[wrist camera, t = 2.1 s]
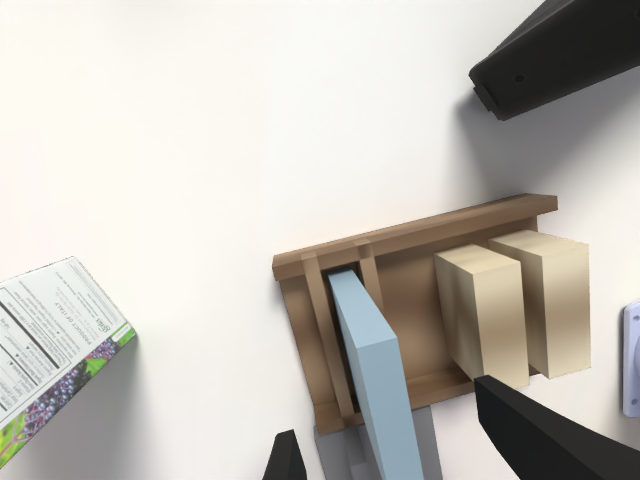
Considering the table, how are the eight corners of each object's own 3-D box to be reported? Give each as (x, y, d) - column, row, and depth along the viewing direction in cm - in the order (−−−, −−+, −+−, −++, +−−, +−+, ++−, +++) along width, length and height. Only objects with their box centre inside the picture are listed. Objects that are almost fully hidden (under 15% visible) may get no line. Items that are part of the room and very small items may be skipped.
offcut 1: (482, 343, 20) (529, 385, 16) (447, 353, 20) (486, 396, 16) (470, 243, 18) (520, 261, 14) (433, 252, 18) (472, 274, 14)
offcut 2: (531, 330, 20) (590, 367, 16) (497, 339, 20) (549, 379, 16) (525, 229, 18) (588, 244, 14) (487, 238, 18) (541, 256, 14)
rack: (535, 346, 21) (564, 366, 19) (315, 406, 20) (319, 435, 18) (525, 193, 19) (557, 195, 16) (273, 255, 18) (271, 267, 16)
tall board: (374, 379, 20) (430, 515, 12) (353, 385, 19) (396, 525, 12) (349, 265, 18) (396, 337, 10) (326, 271, 18) (356, 348, 10)
